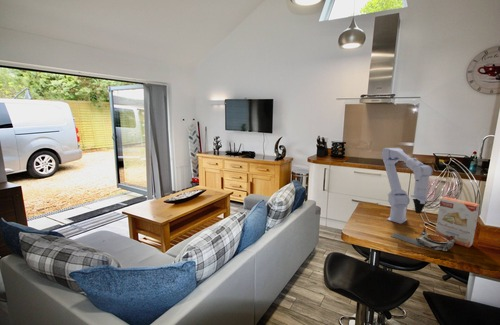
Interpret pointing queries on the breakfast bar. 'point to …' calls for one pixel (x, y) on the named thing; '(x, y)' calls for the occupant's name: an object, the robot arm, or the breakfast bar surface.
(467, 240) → the cracker box
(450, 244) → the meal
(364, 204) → the breakfast bar surface
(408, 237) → the gray flat rectangular plate
